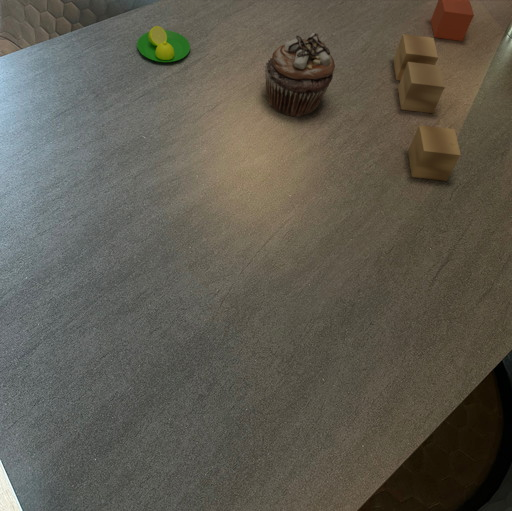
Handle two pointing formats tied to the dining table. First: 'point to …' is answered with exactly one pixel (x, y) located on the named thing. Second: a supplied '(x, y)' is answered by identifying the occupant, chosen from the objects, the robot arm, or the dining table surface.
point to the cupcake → (298, 75)
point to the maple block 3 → (433, 153)
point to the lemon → (163, 45)
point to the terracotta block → (451, 19)
